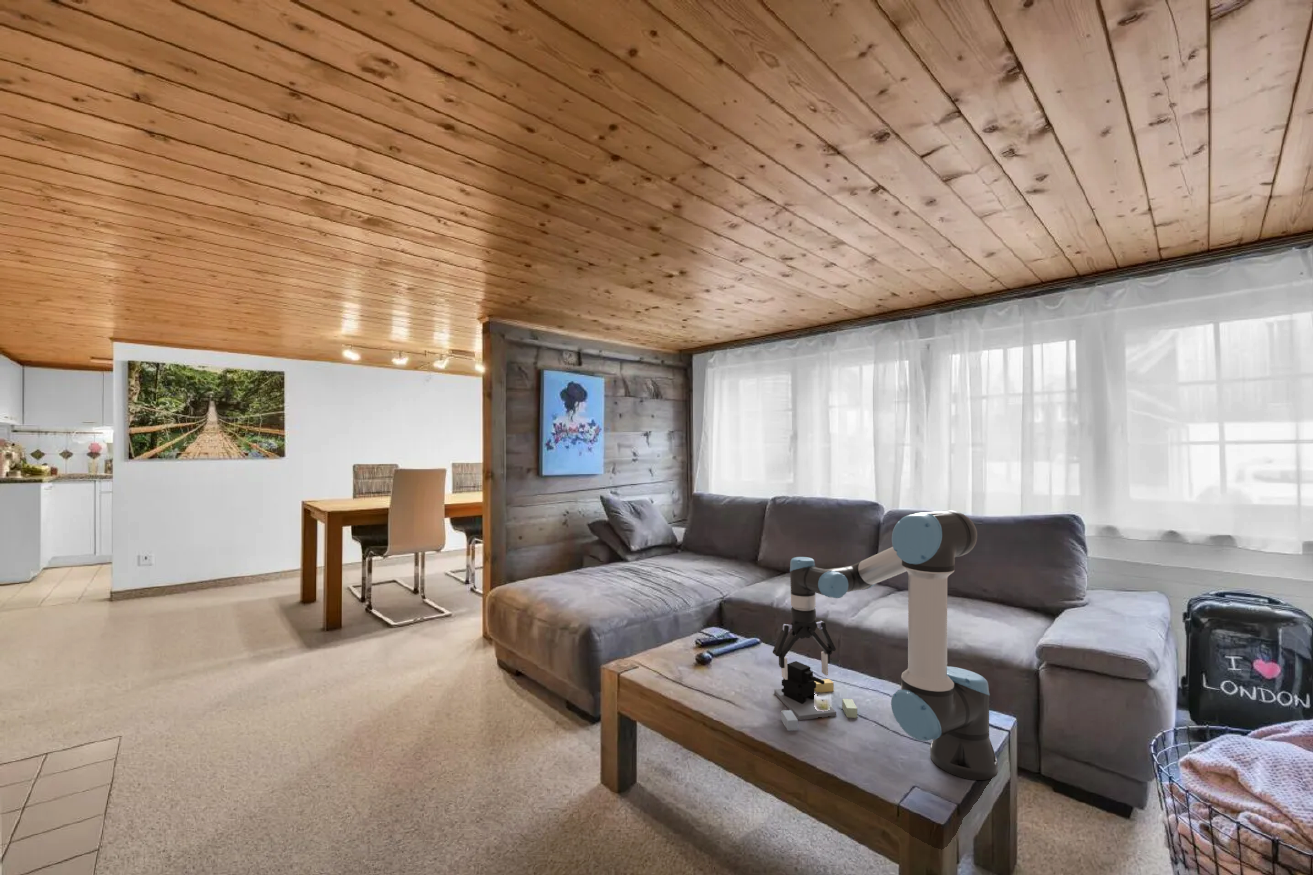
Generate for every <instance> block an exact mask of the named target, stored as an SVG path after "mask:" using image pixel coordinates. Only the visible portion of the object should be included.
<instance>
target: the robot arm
mask: <svg viewBox="0 0 1313 875" xmlns="http://www.w3.org/2000/svg"><path fill="white" fill-rule="evenodd" d="M891 533H892V534H891V543H892V544H891V547H889V548H887V549H884V550H882V551H879V552H878V553H877V554H873V555H871V556H870V557H867V558H865V559H862V560H861V561H858V562H856V563H854V564H852V565H848V566H841V567H833V568H821V567H817V566H816V563H815V559H813V558H812V557H807V556H796V557H795V556H794V557H792V558H791V560H790V561H789V562H790V563H789V564H790V565H789V567H790V568H789V573H790V574H789V577H790V581H789V582H790V605H791V608H790V613H791V614H790V616H791V623H790V624H786V623H784V622H783V623H781V630H780V634H779V636H778V638H777V640H776V642H775V644H774V647H773V649H772V654H774V655H775V656H776V657H778V667H779V668H780V669H781V677H782V679H783V678H784V679H785V680H787V679H788V671H787V664H788V657H787V654H788V653H789V652H790V650H791V649H792V647H793V645H795V643H796V642H797V641H798V640H799V639H801V640H802V639H811V637H812V639H813V640H814V641H815V642H816V643H817V644H818V645H819V647H820V648H821V649H822V650H823V651H820V653H821V654H820V655H821V656H820V657H821V658H820V659H821V660H820V661H821V673H822V674H823V675H824V676H829V664H830V663H831V655H832V653H833V652H836V649H837V648H836V646H835V644H834V642H833V639H832V638H831V636H830V634H829V632H828V630H827V626H826V625H827V624H826V622H824V621H822V620H818V621H817V622H816V620H817V614H816V613H817V610H816V607H817V605H816V604H817V602H816V594H818V595H822V596H825V597H828V598H831V599H832V598H833V599H842V598H843V597H844V596H845V595H846V594H847V593H849V592H854V591H855V592H856V591H864V590H868V589H871V588H874V587H875V586H876V584H879V583H880V582H884V581H886V580H887V579H888V580H889V579H891V578H893V577H896V576H898V575H901V574H903V573H906V572H907V575H908V578H907V579H908V581H907V583H908V587H907V588H908V589H907V591H908V592H907V594H908V597H907V598H908V599H907V602H908V603H907V604H908V606H907V608H908V609H907V611H908V612H907V614H908V615H907V616H908V618H907V619H908V622H907V623H908V624H907V625H908V626H907V628H908V629H907V634H908V635H907V637H908V638H907V639H908V640H907V647H908V648H907V661H908V662H907V663H908V664H907V669H905V670H904V671H903V672H902V673H901V676H900V677H901V678H900V680H901V682H900V684H901V685H900V686H901V687H900V689H897V690H896V691H895V693H893V694H892V696H891V702H890V705H891V706H890V707H891V711H892V713H893V717H894V718H895V720H896V722H897V723H898V724H899V727H900V728H901V729H902V730H903V731H904V732H905V733H906V734H907V735H908V736H910V737H911V738H913V739H915V740H918V741H921V742H926V741H927V742H928V741H931V740H932V741H931V744H930V746H929V754H930V755H929V756H930V759H931V761H932V762H933V763H934V764H935V765H936V766H937V767H938V768H940V769H941V770H943V771H945V772H946V773H949V774H951V775H953V776H956V777H960V778H963V779H967V780H973V781H975V780H976V781H986V780H992V779H994V778H995V777H997V775H998V773H999V763H998V762H999V761H998V759H997V756H996V754H995V753H996V752H995V749H994V748H993V744H992V741H991V739H990V696H991V694H990V691H989V690H990V688H989V682H988V680H987V679H986V678H985V677H984V676H983V675H980V674H979V673H977V672H974V671H971V670H969V669H965V668H961V667H956V666H948V578H949V576H950V575H952V574H953V573H954V572H955V569H956V568H955V566H956V565H955V562H956V559H955V558H958V557H963V556H964V555H967V554H969V553H970V552H971V551H972V550H973V549H974V547H975V546H976V544H977V540H978V531H977V528H976V526H975V523H974V522H973V520H971V518H969V517H968V516H967V515H965V514H964V513H961V512H959V511H956V510H949V509H948V510H940V511H924V512H923V511H922V512H921V511H919V512H915V513H913V514H907V515H905V516H903V517H901V519H899V520H898V521H897V523H896V524H895V525H894V528H893V530H892V532H891ZM817 629H818V630H819V631H820V633H821V635H822V637H823V639H824V641H825V642H824V641H823V640H822V639H821V638H820V637H819V635H818V634H817V633H816V632H815V631H816V630H817ZM789 632H790V634H789ZM826 644H827V645H826Z"/></svg>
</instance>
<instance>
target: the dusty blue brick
mask: <svg viewBox="0 0 1313 875" xmlns="http://www.w3.org/2000/svg"><path fill="white" fill-rule="evenodd" d="M780 713H781V715H780V717H781V718H780V719H781V722H782V723H783V725H784V727H785V729H786V730H787V731H799V719H798V718H797V717H796V716H795V715H794V713H793V712H792V710H790V709H788V710H786V709H784V710H781V711H780Z"/></svg>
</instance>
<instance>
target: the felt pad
mask: <svg viewBox="0 0 1313 875" xmlns="http://www.w3.org/2000/svg"><path fill="white" fill-rule="evenodd" d="M782 689H783V688H778V689H777V688H776V689H774V690H773V691H774V693H773V694H774V695H775V696H777V698H778V699H779V700H780V701H781V702H782V703H783V704H784V705H785V706H786V707H787V709H788V710H792V712H793V713H794V715H795V716H796V718H797V719H798V721H802V720H804V721H805V720H812V719H819V718H818V717H822V718H829V717H828V716H831V717H837V711H836V710H835V709H834V708H833V707H832V706H830V710H828V711H824V712H822V711H817V710H816V709H815V707H814V699H813V700H812V699H810V698H808V697H805V699H806V702H804V704H801V703H799V702H797V701H795V700H793V699H791V698H788V697H786V696H784V693H783V692H782ZM814 693H816V692H815V691H814Z"/></svg>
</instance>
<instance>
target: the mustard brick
mask: <svg viewBox="0 0 1313 875" xmlns="http://www.w3.org/2000/svg"><path fill="white" fill-rule="evenodd" d="M821 680H823V681H824V684H821V683H818V682H816V681H814V682H816V688H814V692H815V691H816V692H815V693H817V692H820V693H827V692H829V693H830V692H834V689H835V688H834V681H832V680H831V678H823V679H821Z"/></svg>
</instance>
